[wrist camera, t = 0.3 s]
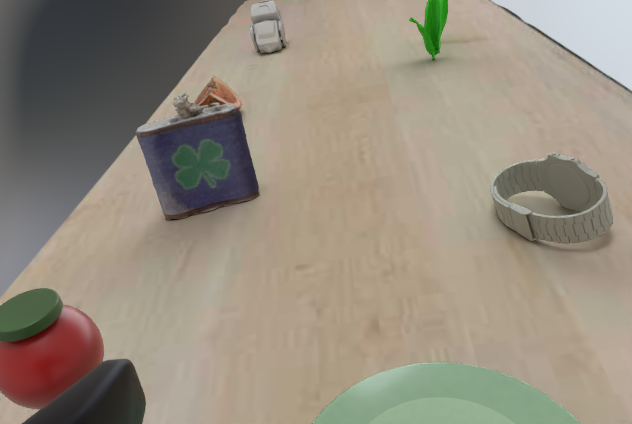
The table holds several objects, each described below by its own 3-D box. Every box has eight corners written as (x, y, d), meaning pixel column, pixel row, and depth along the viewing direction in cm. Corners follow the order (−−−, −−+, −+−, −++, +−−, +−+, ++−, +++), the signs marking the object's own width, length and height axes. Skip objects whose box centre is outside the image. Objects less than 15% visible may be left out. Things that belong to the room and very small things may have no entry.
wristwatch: (631, 232, 38) (640, 167, 36) (565, 267, 36) (570, 201, 34) (530, 187, 46) (531, 131, 43) (470, 215, 44) (468, 157, 41)
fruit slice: (242, 126, 70) (232, 88, 68) (190, 135, 71) (179, 98, 68) (245, 105, 78) (236, 70, 75) (198, 114, 78) (188, 79, 75)
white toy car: (288, 57, 105) (282, 10, 107) (282, 41, 98) (276, -10, 100) (258, 62, 105) (252, 15, 107) (250, 46, 99) (244, -4, 101)
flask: (165, 223, 51) (127, 113, 46) (165, 209, 53) (128, 104, 48) (262, 198, 52) (236, 88, 47) (257, 185, 55) (232, 80, 49)
